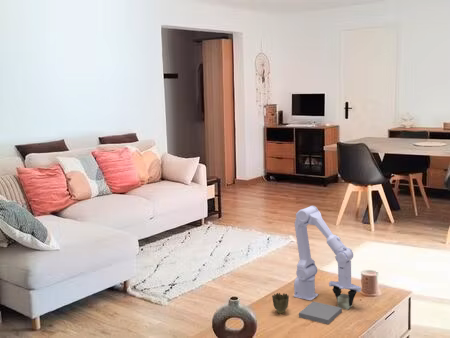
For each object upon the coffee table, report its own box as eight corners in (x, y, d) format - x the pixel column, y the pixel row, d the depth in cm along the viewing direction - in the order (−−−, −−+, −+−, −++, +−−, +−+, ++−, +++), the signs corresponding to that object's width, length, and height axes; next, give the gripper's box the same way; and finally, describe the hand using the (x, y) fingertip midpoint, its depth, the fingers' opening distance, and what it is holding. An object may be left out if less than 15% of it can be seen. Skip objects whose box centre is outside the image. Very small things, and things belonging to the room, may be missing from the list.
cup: (290, 310, 236) (290, 293, 235) (287, 317, 229) (286, 299, 228) (274, 308, 239) (274, 292, 237) (271, 315, 232) (270, 298, 230)
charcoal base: (298, 317, 229) (298, 312, 228) (313, 305, 240) (313, 301, 239) (328, 324, 220) (328, 319, 220) (341, 312, 232) (341, 307, 231)
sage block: (337, 307, 236) (337, 297, 236) (342, 303, 240) (341, 293, 240) (348, 309, 234) (347, 299, 233) (352, 305, 237) (352, 295, 237)
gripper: (326, 275, 236) (326, 303, 238) (356, 281, 227) (356, 310, 229) (332, 270, 241) (333, 298, 243) (362, 275, 233) (362, 304, 235)
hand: (345, 303), depth 237 cm, fingers closed on sage block, 5 cm apart
